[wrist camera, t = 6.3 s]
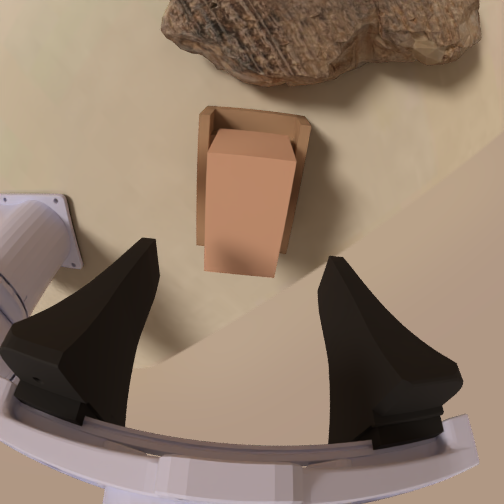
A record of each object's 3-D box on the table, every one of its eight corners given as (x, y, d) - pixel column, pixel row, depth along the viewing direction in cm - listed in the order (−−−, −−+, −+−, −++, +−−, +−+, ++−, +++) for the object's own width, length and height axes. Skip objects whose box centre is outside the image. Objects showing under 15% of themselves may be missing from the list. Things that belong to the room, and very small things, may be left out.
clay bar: (272, 233, 21) (274, 277, 17) (214, 227, 21) (204, 270, 17) (288, 135, 16) (296, 161, 13) (219, 128, 16) (207, 152, 13)
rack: (283, 231, 23) (285, 253, 21) (202, 223, 23) (196, 245, 21) (304, 116, 18) (311, 126, 15) (207, 105, 17) (199, 114, 15)
